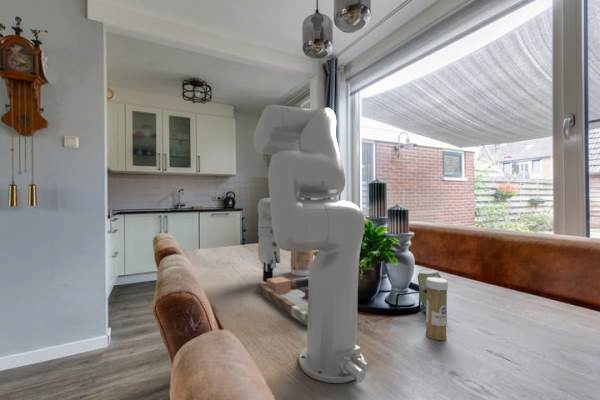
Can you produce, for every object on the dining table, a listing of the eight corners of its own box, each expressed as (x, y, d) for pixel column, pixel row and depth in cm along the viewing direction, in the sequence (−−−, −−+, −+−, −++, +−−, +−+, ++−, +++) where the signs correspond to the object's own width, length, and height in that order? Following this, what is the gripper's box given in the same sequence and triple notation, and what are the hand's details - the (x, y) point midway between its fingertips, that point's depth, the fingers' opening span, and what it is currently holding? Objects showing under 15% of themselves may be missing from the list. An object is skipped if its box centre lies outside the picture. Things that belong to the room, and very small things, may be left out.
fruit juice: (285, 273, 120) (286, 207, 119) (301, 269, 126) (302, 207, 126) (301, 277, 113) (302, 208, 113) (317, 273, 119) (318, 208, 119)
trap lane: (369, 310, 81) (369, 299, 81) (307, 327, 69) (307, 315, 69) (308, 281, 108) (308, 273, 108) (256, 290, 97) (256, 281, 97)
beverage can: (448, 318, 76) (449, 274, 76) (419, 315, 78) (420, 272, 77) (441, 309, 82) (442, 268, 82) (414, 307, 84) (415, 267, 84)
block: (290, 292, 96) (290, 280, 96) (275, 295, 92) (275, 283, 92) (281, 287, 101) (281, 276, 101) (266, 290, 97) (266, 278, 97)
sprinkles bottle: (440, 343, 63) (441, 283, 63) (421, 335, 66) (422, 278, 66) (450, 337, 65) (451, 279, 65) (431, 329, 69) (432, 275, 69)
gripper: (287, 233, 99) (286, 285, 99) (268, 229, 112) (268, 275, 112) (268, 234, 95) (267, 288, 95) (251, 230, 108) (250, 277, 108)
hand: (267, 281), depth 104 cm, fingers closed
